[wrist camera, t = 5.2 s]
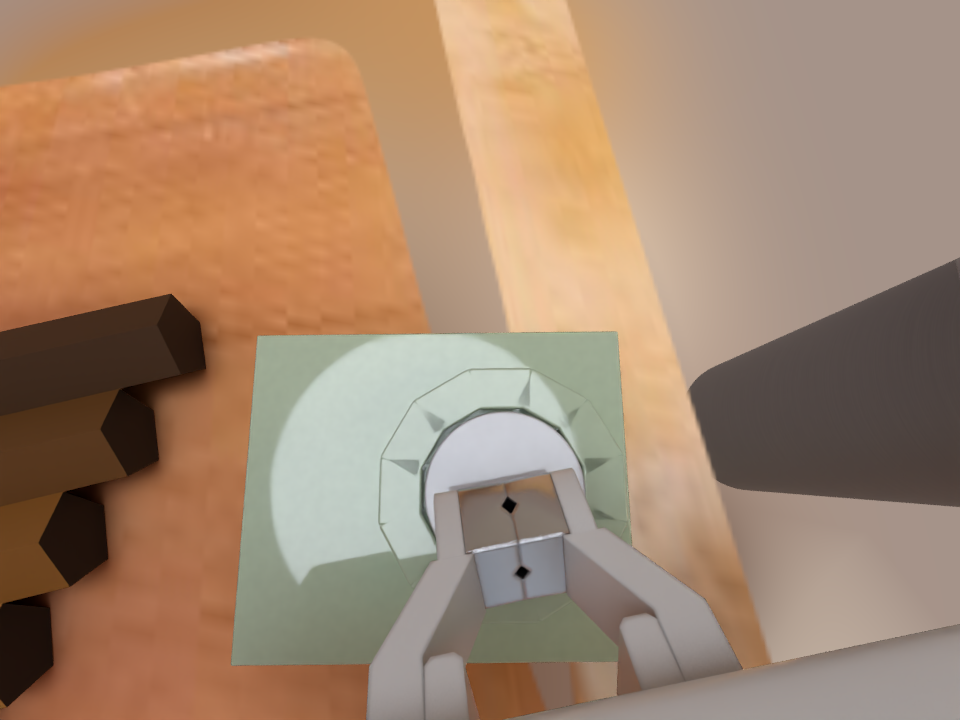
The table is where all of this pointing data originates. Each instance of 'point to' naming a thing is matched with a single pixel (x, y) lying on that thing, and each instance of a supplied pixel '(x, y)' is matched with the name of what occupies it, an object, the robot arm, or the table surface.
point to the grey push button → (496, 454)
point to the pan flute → (72, 452)
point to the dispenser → (404, 484)
